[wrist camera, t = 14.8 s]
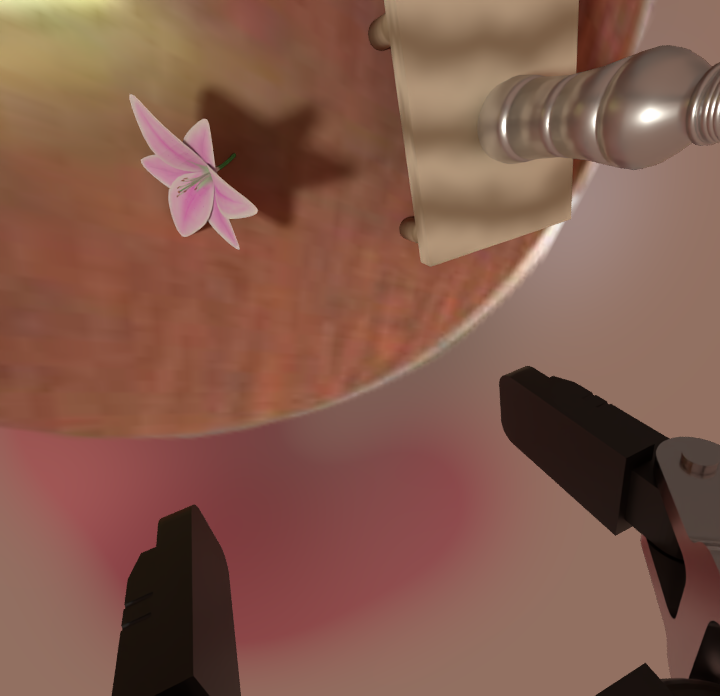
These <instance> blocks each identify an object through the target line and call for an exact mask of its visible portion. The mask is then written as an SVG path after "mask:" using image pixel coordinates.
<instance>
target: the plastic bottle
mask: <svg viewBox="0 0 720 696" xmlns="http://www.w3.org/2000/svg"><path fill="white" fill-rule="evenodd" d="M477 131H478V137H479V141H480V144H481V146H482V149H483V150H484V152H485V153H486V154H487V155H488V156H489V157H490V158H492V159H494V160H497V161H499V162H502V163H505V164H516V163H523V162H528V161H532V160H535V159H544V158H555V157H562V158H572V159H581V160H588V161H592V162H597V163H601V164H605V165H609V166H614V167H618V168H624V169H632V170H637V169H643V168H647V167H650V166H654V165H657V164H659V163H662V162H664V161H665V160H667V159H668V158H670V157H672V156H674V155H675V154H677V153H679V152H680V151H682V150H683V149H684V148H686V147H687V146H689V145H690V144H691V143H694V144H695V145H699V146H703V145H713V144H715V143H720V63H717V64H716V65H714V66H711V65H710V64H709V63H708V62H707V61H706V60H704V59H703V58H702V57H700V56H699V55H697V54H696V53H694V52H692V51H691V50H688V49H686V48H682V47H676V46H670V45H669V46H668V45H667V46H659V47H656V48H652V49H649V50H645V51H642V52H639V53H638V54H635V55H632V56H629V57H627V58H624V59H621V60H619V61H616V62H614V63H611V64H608V65H606V66H603V67H599V68H595V69H591V70H587V71H585V72H580V73H576V74H572V75H562V76H542V75H517V76H514V77H512V78H510V79H508V80H506V81H504V82H502V83H501V84H499V85H497V86H496V87H495V88H494V89H493V90H492V91H491V92H490V93H489V95H488V96H487V98H486V99H485V101H484V103H483V105H482V108H481V111H480V113H479V117H478V124H477Z"/></svg>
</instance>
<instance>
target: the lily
mask: <svg viewBox="0 0 720 696" xmlns="http://www.w3.org/2000/svg"><path fill="white" fill-rule="evenodd" d="M130 102H131V106H132V109H133V112H134V115H135V117H136V120H137V123H138V125H139V127H140V129H141V132H142V134H143V136H144V138H145V140H146V142H147V143H148V145H149V147H150V148H151V150H152V151H153V152H154V153H155V155H151V156H147V157H145V158H143V159H141V162H142V164H143V166H144V167H145V168H146V169H147V171H148V172H150V173H151V174H152V175H153V176H154V177H155V178H156V179H158V180H159V181H160V182H162V183H163V184H164V185H166V186H167V187H169V188H170V189H169V197H168V200H169V207H170V211H171V214H172V218H173V221H174V223H175V226H176V228H177V230H178V232H179V233H180V234H181V235H182V236H183V237H187V236H189V235H192V234H193V233H195V232H196V231H198V230H199V229H200V228H202V227H203V226H204V225H205V223H206V222H207V220H208V222H209V223H210V224H211V226H212V227H213V228H214V229H215V230H216V231H217V232H218V233H219V234H220V235H221V236H222V237H223V238H224V239H225V240H226V241H227V242H228V243H229V244H230V245H232V246H233V247H235V248H236V249H238V250H239V245H238V242H237V240H236V237H235V234H234V231H233V229H232V226H231V223H230V221H229V219H237V218H245V217H249V216H253V215H255V214H257V211H258V210H257V208H256V207H255V205H254V204H252V203H251V202H250V201H249V200H248V199H247V198H245V197H244V196H243V195H241V194H240V193H239V192H237V191H236V190H235V189H234V188H232V187H231V186H230V185H228V184H227V183H226V182H225V181H224V180H223V179H222V178H220V177H219V176H218V175H217V171H219V170H220V169H222V168H223V167H225V166H226V165H227V164H228V163H229V162H231V161H232V160H233V159H234V158H235V156H236V154H235V153H234V154H232V155H231V156H230V157H229V158H228V159H227V160H226V161H225V162H224V163H222V164H221V165H219V166H217V167H215V161H214V153H213V146H212V139H211V132H210V126H209V123H208V120H207V119H202V120H200V121H199V122H197V123H196V124H195V125H194V126H193V127H192V128H191V129H190V130H189V131H188V132H187V134H186V136H185V137H184V141H183V142H182V141H180V140H179V139H178V138H177V137H176V136H175V135H173V134H172V133H171V132H170V131H169V130H168V129H167V128H166V127H164V126H163V125H162V124H161V123H160V122H159V121H158V120H157V119H156V118H155V117H154V116H153V115H152V114H151V112H150V111H149V110H148V109H147V108H146V107H145V106H144V105H143V104H142V103H141V102H140V101H139V100H138V99H137V98H136V97H135V96H134V95H132V94H130Z"/></svg>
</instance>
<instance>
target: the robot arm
mask: <svg viewBox="0 0 720 696" xmlns="http://www.w3.org/2000/svg"><path fill="white" fill-rule="evenodd" d="M499 387H500V406H501V422H502V426H503V429H504V431H505V433H506V435H507V437H508V438H509V440H510V441H511V442H512V443H513V444H514V445H515V446H516V447H517V448H519V449H520V450H521V451H522V452H523V453H524V454H525V455H526V456H527V457H528V458H530V459H531V460H532V461H533V462H534V463H535V464H536V465H537V466H538V467H540V468H541V469H542V470H543V471H544V472H545V473H546V474H547V475H548V476H550V477H551V478H552V479H553V480H554V481H555V482H557V484H559V485H560V486H561V487H562V488H563V489H564V490H565V491H566V492H567V493H569V494H570V495H571V496H572V497H573V498H574V499H575V500H576V501H577V502H579V503H580V504H581V505H582V506H583V507H584V508H585V509H586V510H588V511H589V512H590V513H591V514H592V515H593V516H594V517H595V518H597V519H598V520H599V521H600V522H601V523H602V524H603V525H604V526H605V527H607V528H608V529H609V530H610V531H611V532H612V533H613V534H614V535H615V536H616V535H618V534H619V533H621V532H623V531H625V530H627V529H629V528H630V527H632V526H633V527H634V528H636V529H637V530H638V531H639V532H640V533H641V540H640V541H641V546H642V550H643V553H644V557H645V560H646V563H647V567H648V570H649V574H650V577H651V581H652V584H653V587H654V591H655V594H656V598H657V601H658V605H659V608H660V612H661V615H662V619H663V622H664V625H665V630H666V637H667V657H668V664H669V670H670V675H671V678H669V679H659V677H658V676H657V675H656V674H655V673H654V672H653V671H652V670H651V669H650V667H649V666H648V665H647V664H646V663H644V664H643V665H641V666H640V667H638V668H637V669H635V670H634V671H632V672H631V673H629V674H628V675H626V676H624V677H623V678H621V679H620V680H618V681H617V682H615V683H614V684H612V685H611V686H609V687H608V688H606V689H605V690H603V691H602V692H600V693H598V694H597V695H596V696H720V445H719V444H716V443H714V442H711V441H708V440H704V439H700V438H694V437H676V438H671V439H669V438H668V437H665V436H664V435H662V434H661V433H659V432H657V431H656V430H654V429H652V428H651V427H649V426H647V425H646V424H644V423H642V422H640V421H639V420H637V419H635V418H634V417H632V416H630V415H629V414H627V413H625V412H624V411H622V410H620V409H619V408H617V407H615V406H613V405H612V404H608V403H607V401H605V400H604V399H602V398H600V397H599V396H597V395H595V396H594V395H593V394H592V392H590V391H588V390H587V389H585V388H583V387H582V386H580V385H578V384H577V383H575V382H572V381H569V380H565V379H562V378H558V377H555V376H552V377H550V378H549V377H547V376H546V375H544V374H543V373H541V372H539V371H538V370H536V369H535V368H533V367H530V366H525V367H523V368H521V369H518V370H516V371H513V372H511V373H509V374H506V375H504V376H502V377H501V378H500V382H499ZM230 591H231V590H230V580H229V572H228V566H227V562H226V559H225V556H224V553H223V550H222V548H221V546H220V544H219V542H218V541H217V539H216V537H215V536H214V534H213V532H212V530H211V529H210V527H209V526H208V523H207V522H206V520H205V518H204V516H203V515H202V513H201V511H200V510H199V508H198V507H197V506H196V505H192V506H189V507H187V508H185V509H183V510H180V511H177V512H175V513H173V514H170V515H168V516H166V517H163V518H161V519H160V520H159V523H158V532H157V544H156V547H155V548H152V549H150V550H148V551H145V552H143V553H141V554H140V556H139V559H138V561H137V562H136V564H135V566H134V568H133V570H132V572H131V574H130V576H129V578H128V582H127V589H126V597H125V609H124V611H123V618H122V625H121V626H122V631H121V633H120V640H119V647H118V654H117V662H116V669H115V676H114V683H113V690H112V696H241V692H240V682H239V672H238V662H237V652H236V642H235V632H234V621H233V611H232V601H231V592H230Z"/></svg>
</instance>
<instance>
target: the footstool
mask: <svg viewBox="0 0 720 696" xmlns="http://www.w3.org/2000/svg"><path fill="white" fill-rule="evenodd" d="M384 4H385V11H386V13H384V14H383V15H382V16H380V17H379V18H377V19H376V20H374V21H373V22H372V23H371V25H370V27H369V31H368V36H369V41H370V43H371V45H372V46H373V47H374V48H375V49H376V50H379V51H382V50H385V49H387V48H389V47H391V53H392V60H393V67H394V75H395V82H396V89H397V96H398V103H399V110H400V117H401V124H402V131H403V138H404V146H405V153H406V160H407V167H408V174H409V181H410V188H411V195H412V202H413V209H414V217H415V218H413V217H407V218H405V219H404V220H403V221H402V222H401V224H400V234H401V236H402V237H403V238H405V239H408V240H410V241H413V242H415V243H418V245H419V252H420V259H421V262H422V263H424V264H426V265H428V266H430V267H431V266H434V265H437V264H440V263H443V262H446V261H449V260H452V259H455V258H458V257H461V256H464V255H466V254H469V253H472V252H475V251H478V250H481V249H484V248H487V247H490V246H493V245H496V244H499V243H502V242H505V241H508V240H511V239H514V238H517V237H520V236H522V235H525V234H528V233H531V232H534V231H537V230H540V229H543V228H546V227H549V226H552V225H555V224H558V223H561V222H564V221H567V220H570V219H571V201H572V173H573V159H572V158H562V157H555V158H544V159H535V160H532V161H528V162H523V163H516V164H505V163H502V162H499V161H497V160H494V159H492V158H490V157H489V156H488V155H487V154H486V153H485V152H484V150H483V149H482V146H481V144H480V141H479V137H478V131H477V124H478V117H479V113H480V111H481V108H482V105H483V103H484V101H485V99H486V98H487V96H488V95H489V93H490V92H491V91H492V90H493V89H494V88H495V87H496V86H497V85H499V84H501V83H502V82H504V81H506V80H508V79H510V78H512V77H514V76H517V75H542V76H562V75H572V74H576V65H577V37H578V10H579V0H384Z"/></svg>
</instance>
